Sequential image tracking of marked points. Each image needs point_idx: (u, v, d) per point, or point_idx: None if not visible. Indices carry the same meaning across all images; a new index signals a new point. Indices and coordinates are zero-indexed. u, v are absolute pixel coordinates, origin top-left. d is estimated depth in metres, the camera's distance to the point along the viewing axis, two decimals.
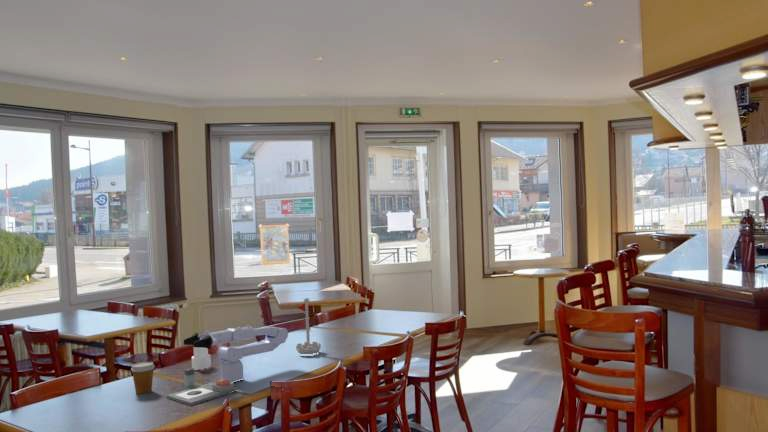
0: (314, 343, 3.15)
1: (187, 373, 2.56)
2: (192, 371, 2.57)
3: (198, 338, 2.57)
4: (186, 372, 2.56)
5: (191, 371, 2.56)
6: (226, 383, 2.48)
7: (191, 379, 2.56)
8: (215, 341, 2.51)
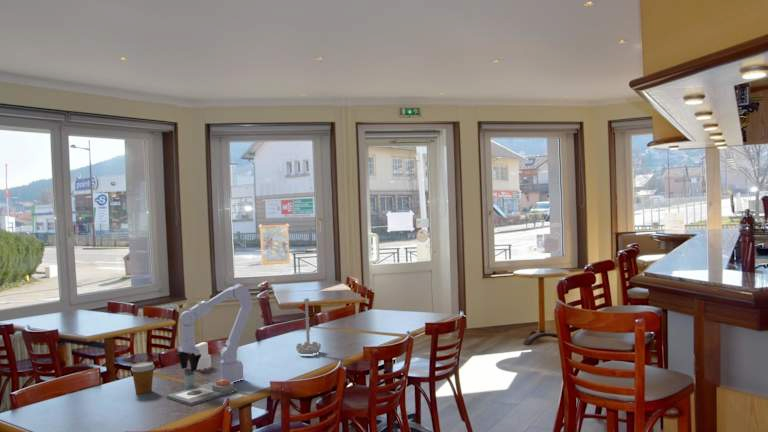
0: (314, 343, 3.15)
1: (187, 373, 2.56)
2: (192, 371, 2.57)
3: (182, 352, 2.60)
4: (186, 372, 2.56)
5: (191, 371, 2.56)
6: (226, 383, 2.48)
7: (191, 379, 2.56)
8: (196, 352, 2.53)
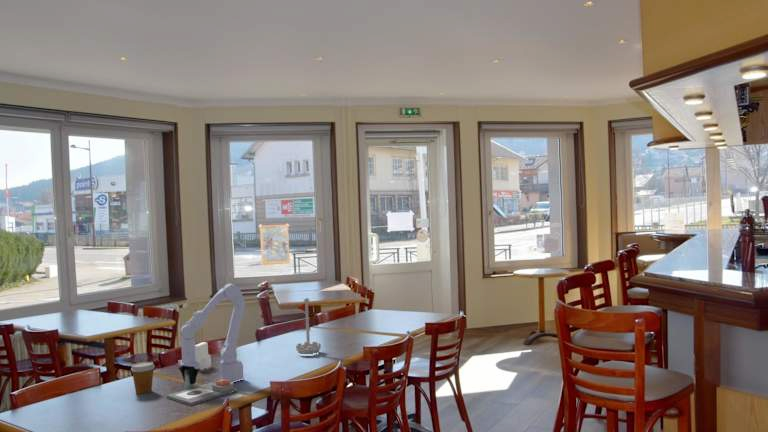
0: (314, 343, 3.15)
1: (187, 373, 2.56)
2: None
3: (185, 366, 2.59)
4: (186, 372, 2.56)
5: None
6: (226, 383, 2.48)
7: None
8: (197, 366, 2.53)
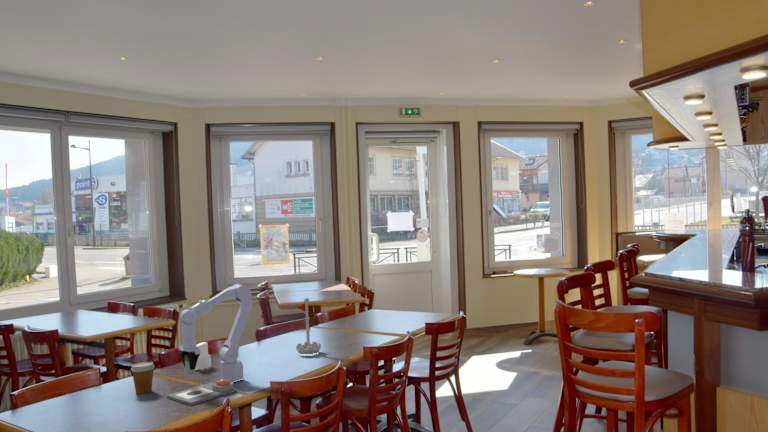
0: (314, 343, 3.15)
1: (187, 358, 2.53)
2: None
3: (185, 352, 2.56)
4: (186, 357, 2.53)
5: None
6: (226, 383, 2.48)
7: None
8: (197, 351, 2.50)
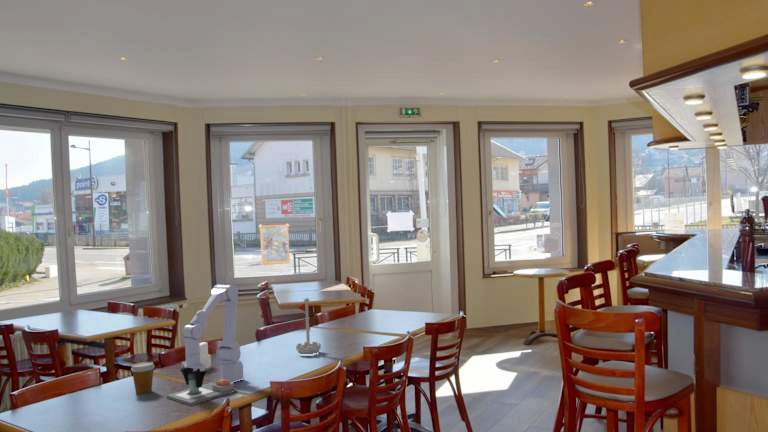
0: (314, 343, 3.15)
1: (191, 378, 2.43)
2: None
3: (187, 368, 2.47)
4: (190, 377, 2.43)
5: None
6: (226, 383, 2.48)
7: (195, 384, 2.43)
8: (202, 368, 2.40)
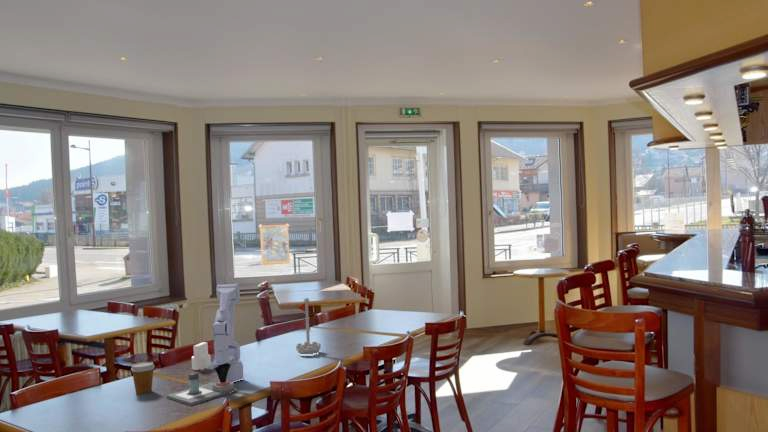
0: (314, 343, 3.15)
1: (191, 378, 2.43)
2: (196, 376, 2.44)
3: None
4: (190, 377, 2.43)
5: (195, 376, 2.43)
6: None
7: (195, 384, 2.43)
8: (209, 366, 2.42)
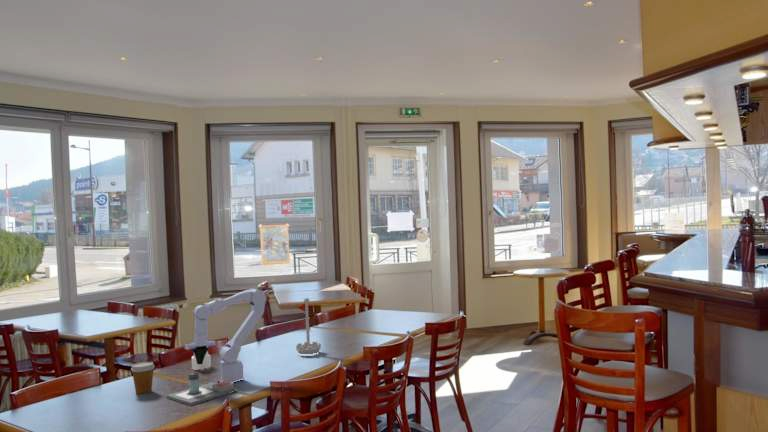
0: (314, 343, 3.15)
1: (191, 378, 2.43)
2: (196, 376, 2.44)
3: None
4: (190, 377, 2.43)
5: (195, 376, 2.43)
6: None
7: (195, 384, 2.43)
8: (185, 347, 2.52)
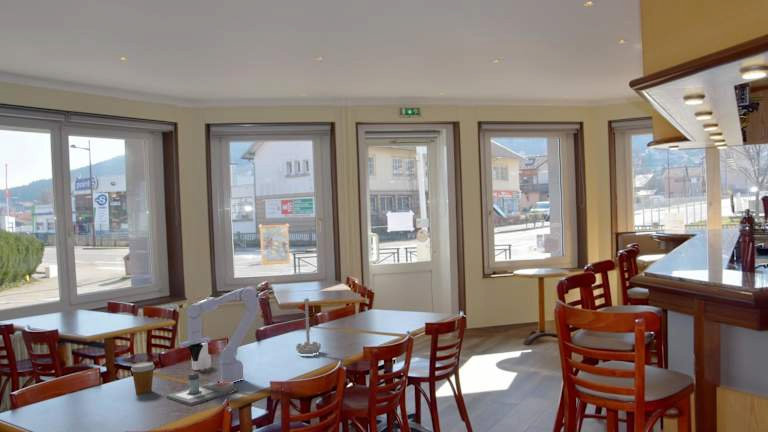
0: (314, 343, 3.15)
1: (191, 378, 2.43)
2: (196, 376, 2.44)
3: None
4: (190, 377, 2.43)
5: (195, 376, 2.43)
6: None
7: (195, 384, 2.43)
8: (179, 345, 2.57)
